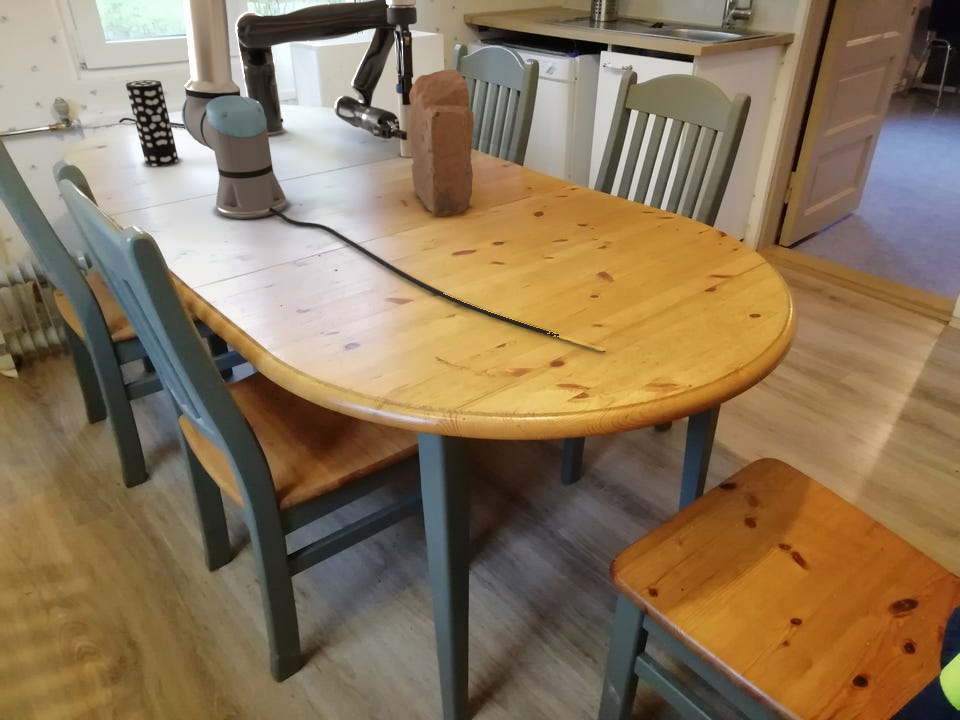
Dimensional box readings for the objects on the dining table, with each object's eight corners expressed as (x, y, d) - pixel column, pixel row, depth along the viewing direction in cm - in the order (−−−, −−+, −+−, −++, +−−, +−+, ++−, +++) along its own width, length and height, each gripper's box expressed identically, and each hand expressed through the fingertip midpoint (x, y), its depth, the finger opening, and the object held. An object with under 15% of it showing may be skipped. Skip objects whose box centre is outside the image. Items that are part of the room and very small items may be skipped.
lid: (416, 93, 184) (416, 85, 183) (399, 94, 183) (399, 87, 182) (411, 89, 188) (410, 82, 187) (394, 90, 186) (393, 83, 186)
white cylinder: (400, 153, 196) (397, 86, 186) (414, 152, 197) (412, 85, 187) (401, 157, 193) (398, 89, 183) (416, 156, 193) (413, 89, 183)
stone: (482, 213, 155) (482, 80, 141) (434, 219, 152) (429, 83, 138) (455, 187, 173) (452, 67, 159) (411, 191, 170) (404, 69, 156)
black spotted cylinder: (184, 157, 190) (167, 80, 179) (169, 166, 183) (151, 87, 172) (155, 156, 190) (136, 79, 179) (139, 165, 183) (119, 86, 172)
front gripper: (422, 9, 168) (425, 109, 180) (410, 2, 182) (413, 94, 195) (392, 10, 166) (397, 110, 179) (381, 2, 181) (387, 95, 193)
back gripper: (357, 112, 195) (390, 124, 184) (399, 105, 202) (433, 117, 191) (359, 139, 199) (391, 153, 188) (401, 131, 206) (434, 144, 195)
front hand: (405, 102), depth 187 cm, fingers closed on lid, 5 cm apart
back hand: (412, 134), depth 189 cm, fingers closed on white cylinder, 4 cm apart
